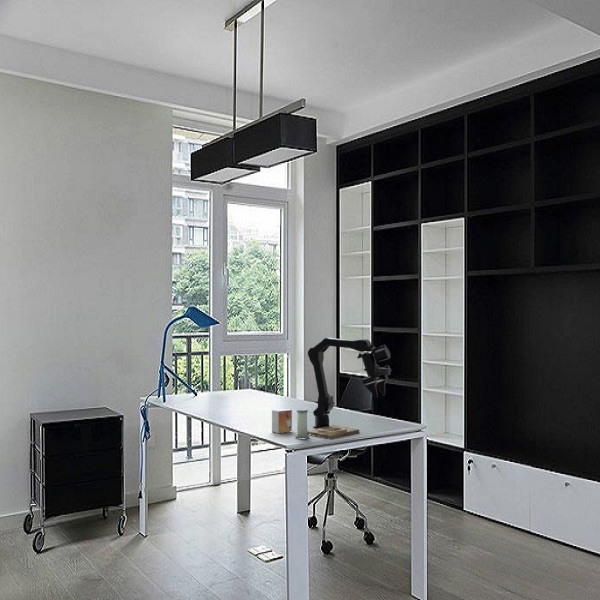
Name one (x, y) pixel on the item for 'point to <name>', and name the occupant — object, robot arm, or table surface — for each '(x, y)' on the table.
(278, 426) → the small box
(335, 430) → the notched board
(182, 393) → the table surface
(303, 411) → the bobbin
